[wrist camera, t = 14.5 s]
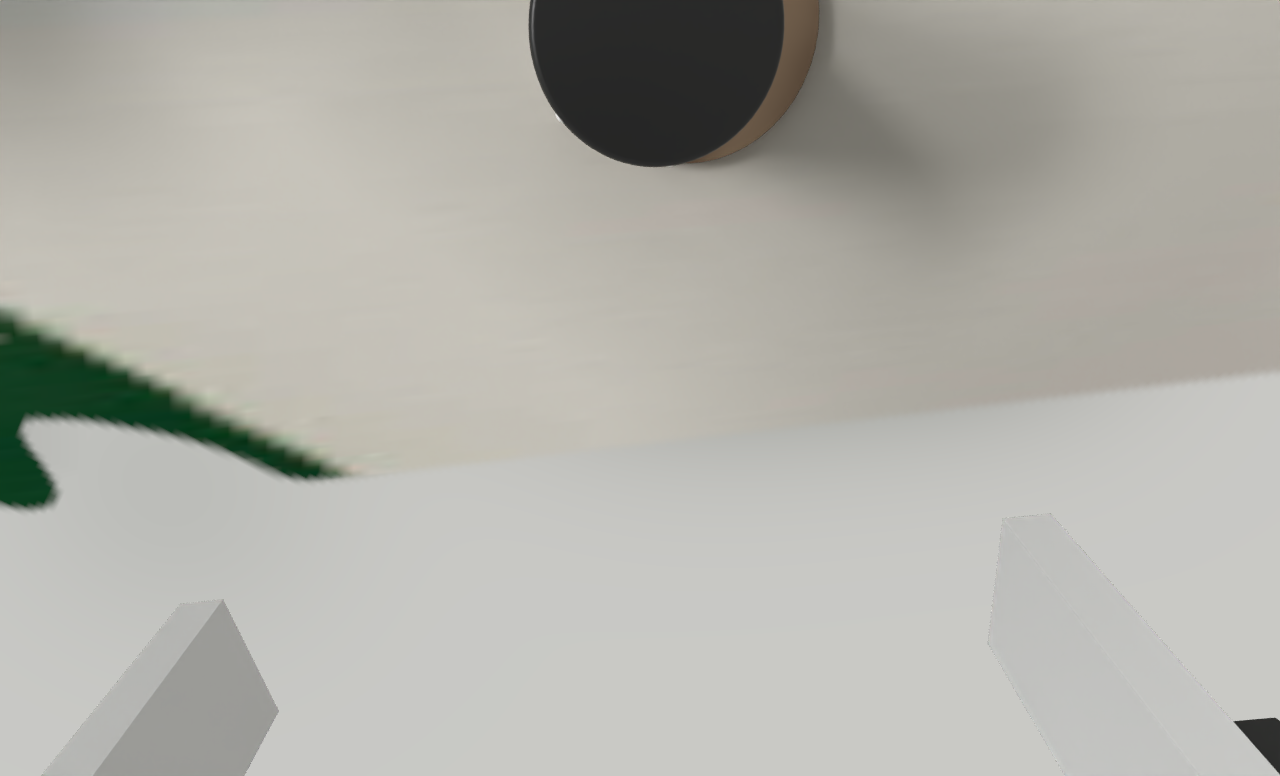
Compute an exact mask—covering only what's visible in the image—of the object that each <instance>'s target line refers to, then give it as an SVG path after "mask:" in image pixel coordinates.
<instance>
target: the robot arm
mask: <svg viewBox="0 0 1280 776" xmlns="http://www.w3.org/2000/svg"><path fill="white" fill-rule="evenodd" d="M988 645H989V647H990V648H991V650H992V652H993V653H994V655H995V657H996V658H997V660H998V662H999V664H1000V665H1001V667H1002V669H1003V671H1004V672H1005V674H1006V676H1007V677H1008V679H1009V681H1010V682H1011V684H1012V686H1013V688H1014V689H1015V691H1016V693H1017V695H1018V696H1019V698H1020V700H1021V701H1022V703H1023V705H1024V706H1025V708H1026V710H1027V712H1028V713H1029V715H1030V717H1031V719H1032V720H1033V722H1034V724H1035V725H1036V727H1037V729H1038V730H1039V732H1040V734H1041V736H1042V737H1043V739H1044V741H1045V743H1046V744H1047V746H1048V748H1049V749H1050V751H1051V753H1052V755H1053V756H1054V758H1055V759H1056V762H1057V763H1058V765H1059V766H1060V768H1061V770H1062V772H1063V773H1064V775H1065V776H1280V721H1279V720H1278V719H1276V718H1267V719H1255V720H1244V721H1232V720H1231V718H1230V717H1229V716H1228V715H1227V714H1226V713H1225V712H1224V710H1223V709H1222V708H1221V707H1220V706H1219V705H1218V704H1217V702H1216V701H1215V700H1214V699H1213V698H1212V697H1211V696H1210V695H1209V693H1208V692H1207V691H1206V690H1205V689H1204V688H1203V687H1202V685H1201V684H1200V683H1199V682H1198V681H1197V680H1196V678H1194V676H1193V675H1192V674H1191V673H1190V672H1189V671H1188V669H1187V668H1186V667H1185V666H1184V665H1183V664H1182V663H1181V662H1180V660H1179V659H1178V658H1177V657H1176V656H1175V655H1174V653H1173V652H1172V651H1171V650H1170V649H1169V648H1168V647H1167V645H1166V644H1165V643H1164V642H1163V641H1162V640H1161V639H1160V637H1159V636H1158V635H1157V634H1156V633H1155V632H1154V631H1153V629H1152V628H1151V627H1150V626H1149V625H1148V624H1147V623H1146V622H1145V620H1144V619H1143V618H1142V617H1141V616H1140V615H1139V614H1138V612H1137V611H1136V610H1135V609H1134V608H1133V607H1132V606H1131V604H1130V603H1129V602H1128V601H1127V600H1126V599H1125V598H1124V596H1123V595H1122V594H1121V593H1120V592H1119V591H1118V590H1117V588H1116V587H1115V586H1114V585H1113V584H1112V583H1111V582H1110V580H1109V579H1108V578H1107V577H1106V576H1105V575H1104V574H1103V573H1102V571H1101V570H1100V569H1099V568H1098V567H1097V566H1096V565H1095V563H1094V562H1093V561H1092V560H1091V559H1090V558H1089V557H1088V556H1087V554H1086V553H1085V552H1084V551H1083V550H1082V549H1081V547H1080V546H1079V545H1078V544H1077V543H1076V542H1075V541H1074V540H1073V538H1072V537H1071V536H1070V535H1069V534H1068V533H1067V532H1066V530H1065V529H1064V528H1063V527H1062V526H1061V525H1060V523H1059V522H1058V521H1057V520H1056V519H1055V518H1054V517H1053V516H1052V514H1041V515H1032V516H1023V517H1012V518H1004V519H1003V520H1002V528H1001V536H1000V545H999V553H998V562H997V570H996V578H995V587H994V595H993V604H992V612H991V621H990V629H989V638H988ZM277 713H278V708H277V707H276V704H275V703H274V700H273V699H272V696H271V695H270V693H269V690H268V688H267V686H266V684H265V682H264V680H263V678H262V677H261V675H260V673H259V670H258V669H257V667H256V664H255V662H254V661H253V658H252V657H251V654H250V652H249V650H248V648H247V646H246V644H245V643H244V640H243V638H242V636H241V635H240V632H239V630H238V628H237V626H236V624H235V623H234V620H233V618H232V617H231V614H230V612H229V610H228V608H227V606H226V604H225V602H224V600H223V599H221V600H212V601H202V602H193V603H183V604H180V605H179V606H178V607H177V608H176V610H175V611H174V612H173V613H172V614H171V616H170V617H169V618H168V619H167V621H166V622H165V623H164V624H163V626H162V627H161V628H160V629H159V631H158V632H157V633H156V634H155V636H154V637H153V638H152V639H151V640H150V642H149V643H148V644H147V646H146V647H145V648H144V649H143V650H142V652H141V653H140V654H139V655H138V657H137V658H136V659H135V660H134V661H133V663H132V664H131V665H130V666H129V668H128V669H127V670H126V671H125V673H124V674H123V675H122V676H121V677H120V679H119V680H118V681H117V682H116V684H115V685H114V686H113V687H112V689H111V690H110V691H109V692H108V694H107V695H106V696H105V697H104V699H103V700H102V701H101V702H100V704H99V705H98V706H97V707H96V708H95V710H94V711H93V712H92V713H91V715H90V716H89V717H88V718H87V720H86V721H85V722H84V723H83V724H82V726H81V727H80V728H79V729H78V731H77V732H76V733H75V734H74V736H73V737H72V738H71V739H70V740H69V742H68V743H67V744H66V745H65V747H64V748H63V749H62V750H61V752H60V753H59V754H58V755H57V757H56V758H55V759H54V760H53V762H52V763H51V764H50V765H49V766H48V768H47V769H46V770H45V771H44V773H43V774H42V775H41V776H244V775H245V773H246V771H247V769H248V768H249V766H250V764H251V762H252V760H253V758H254V756H255V755H256V752H257V751H258V749H259V747H260V745H261V743H262V741H263V739H264V737H265V736H266V734H267V732H268V730H269V728H270V726H271V724H272V723H273V721H274V719H275V717H276V715H277Z"/></svg>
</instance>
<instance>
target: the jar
mask: <svg viewBox="0 0 1280 776" xmlns="http://www.w3.org/2000/svg"><path fill="white" fill-rule="evenodd" d="M784 27H785V22H784V4H783V0H531V1H530V9H529V42H530V50H531V56H532V60H533V64H534V68H535V71H536V75H537V78H538V80H539V83H540V85H541V88H542V90H543V92H544V94H545V96H546V98H547V100H548V102H549V103H550V105H551V107H552V108H553V110H554V111H555V116H556V118H557V120H558V121H560V122H562V123H564V124H565V126H566V127H567V128H568V129H569V130H570V131H571V132H572V133H573V134H574V135H576V136H577V137H578V138H579V139H580V140H581V141H583V142H584V143H585V144H587V145H588V146H589V147H591V148H592V149H594V150H596V151H598V152H599V153H601V154H603V155H605V156H607V157H609V158H612V159H614V160H617V161H620V162H623V163H627V164H631V165H637V166H644V167H672V166H674V165H679V164H684V163H687V162H691V161H694V160H696V159H699V158H701V157H703V156H706V155H708V154H710V153H712V152H713V151H715V150H717V149H718V148H720V147H721V146H723V145H724V144H726V143H727V142H728V141H730V140H731V139H732V138H733V137H735V136H736V135H737V134H738V133H739V132H740V131H741V130H742V129H743V128H744V127H745V126H746V125H747V123H748V122H749V121H750V120H751V119H752V118H753V116H754V115H755V114H756V112H757V111H758V109H759V108H760V106H761V105H762V103H763V101H764V99H765V98H766V96H767V94H768V92H769V90H770V88H771V86H772V83H773V81H774V78H775V75H776V72H777V69H778V66H779V62H780V58H781V53H782V48H783V41H784Z"/></svg>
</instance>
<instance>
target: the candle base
mask: <svg viewBox="0 0 1280 776" xmlns="http://www.w3.org/2000/svg"><path fill="white" fill-rule="evenodd" d="M783 4H784V22H785V27H784V41H783V48H782V53H781V58H780V62H779V66H778V69H777V72H776V75H775V78H774V81H773V83H772V86H771V88H770V90H769V92H768V94H767V96H766V98H765V99H764V101H763V103H762V105H761V106H760V108H759V109H758V111H757V112H756V114H755V115H754V116H753V118H752V119H751V120H750V121H749V122H748V123H747V125H746V126H745V127H744V128H743V129H742V130H741V131H740V132H739V133H738V134H737V135H736V136H735V137H733V138H732V139H731V140H730V141H728V142H727V143H726V144H724V145H723V146H721V147H720V148H718V149H717V150H715V151H713V152H712V153H710V154H708V155H706V156H703V157H701V158H699V159H696V160H694V161H691V162H687V163H697V162H704V161H709V160H714V159H718V158H721V157H724V156H727V155H730V154H732V153H734V152H736V151H738V150H740V149H742V148H744V147H746V146H748V145H749V144H751V143H752V142H754V141H755V140H757V139H758V138H760V137H761V136H762V135H763V134H764V133H765V132H767V131H768V130H769V129H770V128H771V127H772V126H773V125H774V124H775V123H776V122H777V121H778V120H779V119H780V118H781V117H782V115H783V114H784V113H785V112H786V110H787V109H788V108H789V106H790V105H791V103H792V102H793V101H794V99H795V97H796V96H797V94H798V92H799V90H800V88H801V87H802V85H803V83H804V80H805V78H806V75H807V73H808V71H809V68H810V65H811V62H812V58H813V55H814V51H815V47H816V41H817V35H818V25H819V2H818V0H783Z"/></svg>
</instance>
